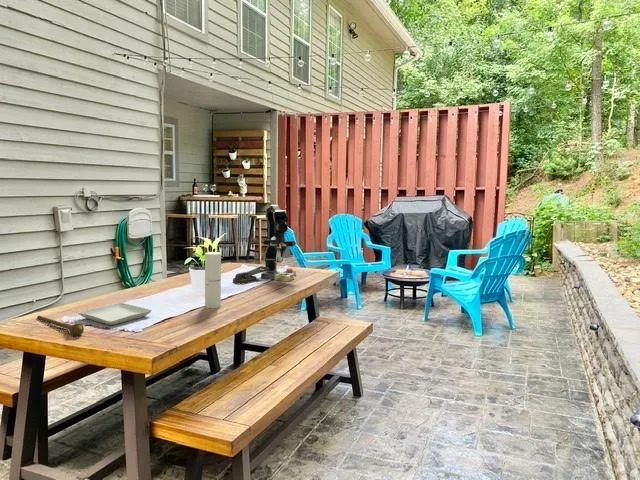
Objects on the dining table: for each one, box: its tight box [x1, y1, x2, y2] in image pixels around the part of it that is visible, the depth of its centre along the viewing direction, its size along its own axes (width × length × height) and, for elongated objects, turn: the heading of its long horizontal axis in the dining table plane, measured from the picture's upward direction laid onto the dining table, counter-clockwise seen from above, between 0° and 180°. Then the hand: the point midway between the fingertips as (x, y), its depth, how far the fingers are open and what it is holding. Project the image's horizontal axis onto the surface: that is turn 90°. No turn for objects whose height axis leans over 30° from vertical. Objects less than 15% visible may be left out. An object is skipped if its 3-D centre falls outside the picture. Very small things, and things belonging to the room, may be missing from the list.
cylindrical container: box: [204, 251, 222, 309], centre depth 227 cm, size 7×7×25 cm
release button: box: [286, 267, 293, 273], centre depth 306 cm, size 4×4×4 cm
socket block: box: [260, 270, 297, 280], centre depth 303 cm, size 17×17×3 cm
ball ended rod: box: [36, 315, 85, 337], centre depth 190 cm, size 5×35×5 cm
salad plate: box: [77, 302, 152, 326], centre depth 205 cm, size 21×21×3 cm
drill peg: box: [276, 246, 283, 264], centre depth 295 cm, size 3×3×9 cm
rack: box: [274, 272, 295, 282], centre depth 294 cm, size 9×9×3 cm
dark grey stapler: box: [232, 265, 270, 285], centre depth 289 cm, size 9×7×25 cm
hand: (279, 257), depth 295 cm, fingers closed on drill peg, 3 cm apart
